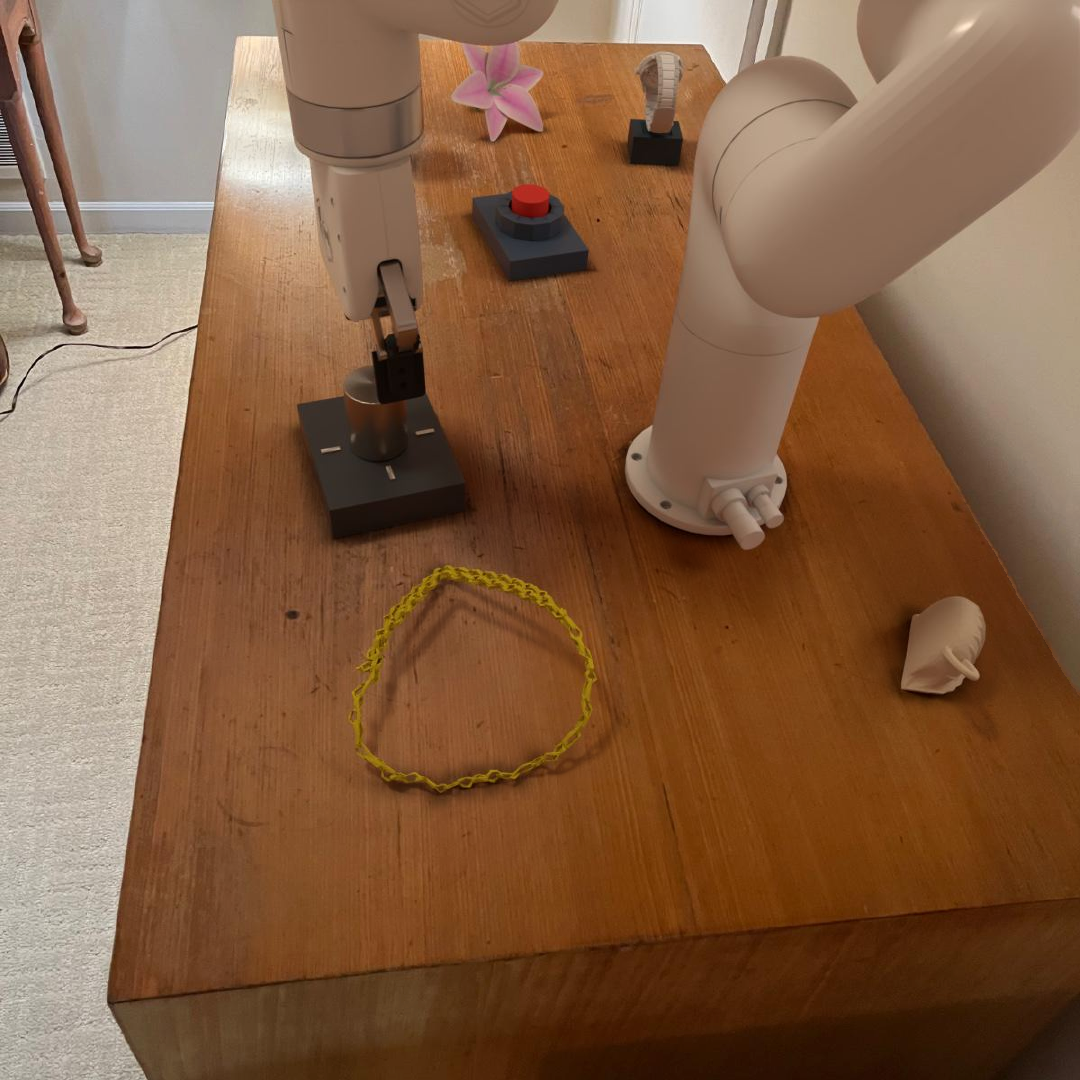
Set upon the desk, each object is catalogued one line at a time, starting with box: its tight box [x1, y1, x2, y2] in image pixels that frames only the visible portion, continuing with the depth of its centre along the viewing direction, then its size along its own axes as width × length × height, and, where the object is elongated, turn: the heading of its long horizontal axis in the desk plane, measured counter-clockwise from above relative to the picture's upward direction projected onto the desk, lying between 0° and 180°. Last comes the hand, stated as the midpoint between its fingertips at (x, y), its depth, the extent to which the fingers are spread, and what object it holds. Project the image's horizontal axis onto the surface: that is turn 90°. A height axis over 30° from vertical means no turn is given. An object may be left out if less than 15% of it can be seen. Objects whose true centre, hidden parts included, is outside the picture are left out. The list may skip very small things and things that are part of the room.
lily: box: [450, 41, 545, 143], centre depth 117 cm, size 12×12×10 cm
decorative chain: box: [347, 564, 598, 794], centre depth 64 cm, size 16×15×5 cm
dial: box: [342, 364, 408, 461], centre depth 74 cm, size 4×4×6 cm
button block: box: [471, 188, 590, 282], centre depth 101 cm, size 12×8×4 cm, turn 20°
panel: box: [296, 392, 467, 539], centre depth 78 cm, size 12×10×3 cm
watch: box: [626, 51, 685, 167], centre depth 112 cm, size 6×8×11 cm
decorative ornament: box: [900, 595, 987, 695], centre depth 67 cm, size 4×8×5 cm, turn 158°
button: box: [511, 183, 550, 218], centre depth 99 cm, size 4×4×2 cm
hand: (383, 354), depth 71 cm, fingers open, 9 cm apart
